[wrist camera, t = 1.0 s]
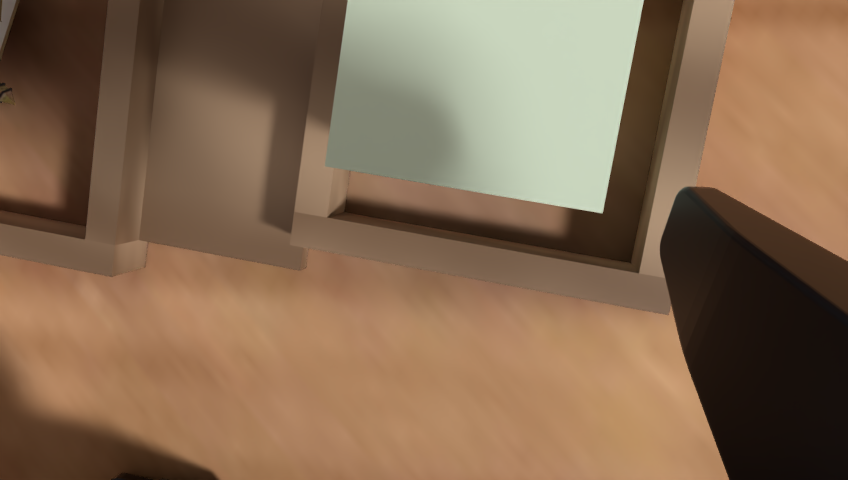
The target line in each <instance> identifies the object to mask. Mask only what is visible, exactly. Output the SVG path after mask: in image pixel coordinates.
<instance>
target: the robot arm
mask: <svg viewBox="0 0 848 480" xmlns="http://www.w3.org/2000/svg"><path fill="white" fill-rule="evenodd" d="M660 259H661V263H662V267H663V272H664V276H665V280H666V284H667V289H668V293H669V297H670V301H671V306H672V310H673V314H674V318H675V323H676V327H677V331H678V335H679V339H680V343H681V347H682V350H683V354H684V357H685V360H686V363H687V366H688V369H689V372H690V374H691V377H692V380H693V383H694V385H695V388H696V391H697V393H698V396H699V399H700V402H701V404H702V407H703V410H704V412H705V415H706V418H707V420H708V423H709V426H710V429H711V431H712V434H713V437H714V439H715V442H716V445H717V448H718V450H719V453H720V456H721V458H722V461H723V464H724V467H725V469H726V472H727V475H728V477H729V480H848V261H846V260H844V259H842V258H841V257H839V256H837V255H835V254H833V253H832V252H830V251H828V250H826V249H824V248H823V247H821V246H819V245H817V244H815V243H813V242H812V241H810V240H808V239H806V238H804V237H803V236H801V235H799V234H797V233H795V232H794V231H792V230H790V229H788V228H786V227H784V226H783V225H781V224H779V223H777V222H775V221H774V220H772V219H770V218H768V217H766V216H765V215H763V214H761V213H759V212H757V211H755V210H754V209H752V208H750V207H748V206H746V205H745V204H743V203H741V202H739V201H737V200H736V199H734V198H732V197H730V196H728V195H726V194H725V193H723V192H721V191H719V190H717V189H715V188H710V187H691V186H688V187H684V188H682V189H681V190H679V192H678V193H677V195H676V197H675V199H674V202H673V205H672V208H671V211H670V214H669V217H668V220H667V223H666V226H665V229H664V232H663V234H662V238H661V242H660ZM111 480H153V479H148V478H144V477H140V476H135V475H131V474H127V473H121V474H119V475H117V476H115V477H114V478H113V479H111ZM159 480H168V479H164V478H162V479H159Z"/></svg>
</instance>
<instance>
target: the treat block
mask: <svg viewBox="0 0 848 480" xmlns="http://www.w3.org/2000/svg"><path fill="white" fill-rule="evenodd" d="M643 2H644V0H348V2H347V10H346V17H345V24H344V31H343V38H342V45H341V53H340V60H339V67H338V74H337V81H336V88H335V96H334V103H333V110H332V117H331V124H330V132H329V139H328V146H327V153H326V160H325V166H326V167H332V168H338V169H343V170H349V171H355V172H361V173H367V174H373V175H379V176H385V177H391V178H397V179H402V180H408V181H414V182H420V183H426V184H432V185H438V186H444V187H450V188H456V189H462V190H467V191H473V192H479V193H485V194H491V195H497V196H503V197H509V198H515V199H521V200H526V201H532V202H538V203H544V204H550V205H556V206H562V207H568V208H574V209H580V210H586V211H591V212H597V213H603V209H604V204H605V199H606V193H607V188H608V183H609V178H610V173H611V167H612V162H613V157H614V152H615V147H616V142H617V136H618V131H619V126H620V121H621V116H622V110H623V105H624V100H625V95H626V90H627V85H628V79H629V74H630V69H631V64H632V59H633V54H634V48H635V43H636V38H637V33H638V28H639V22H640V17H641V12H642V7H643Z"/></svg>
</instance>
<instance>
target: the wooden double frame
mask: <svg viewBox="0 0 848 480" xmlns="http://www.w3.org/2000/svg"><path fill="white" fill-rule="evenodd" d="M734 1H735V0H683V4H682V9H681V14H680V19H679V24H678V29H677V34H676V39H675V44H674V49H673V54H672V59H671V64H670V69H669V74H668V79H667V84H666V89H665V94H664V99H663V104H662V109H661V114H660V119H659V124H658V129H657V134H656V139H655V144H654V149H653V154H652V159H651V164H650V169H649V174H648V179H647V184H646V189H645V194H644V199H643V204H642V209H641V214H640V219H639V224H638V229H637V234H636V239H635V244H634V249H633V254H632V259H631V263H628V262H623V261H617V260H612V259H606V258H600V257H595V256H589V255H583V254H578V253H572V252H566V251H561V250H555V249H549V248H544V247H538V246H532V245H527V244H521V243H516V242H510V241H504V240H499V239H493V238H487V237H482V236H476V235H470V234H465V233H459V232H453V231H448V230H442V229H436V228H431V227H425V226H420V225H414V224H408V223H403V222H397V221H391V220H386V219H380V218H374V217H369V216H363V215H357V214H352V213H346V212H345V205H346V198H347V191H348V184H349V177H350V171H349V170H343V169H338V168H332V167H326V166H325V160H326V153H327V146H328V139H329V132H330V124H331V117H332V110H333V103H334V96H335V88H336V81H337V74H338V67H339V60H340V53H341V45H342V38H343V31H344V24H345V17H346V10H347V2H348V0H108V6H107V17H106V27H105V38H104V48H103V58H102V69H101V79H100V90H99V100H98V111H97V121H96V131H95V142H94V152H93V163H92V173H91V183H90V194H89V204H88V215H87V225H86V226H82V225H77V224H72V223H66V222H61V221H56V220H50V219H45V218H40V217H35V216H29V215H24V214H19V213H13V212H8V211H3V210H0V255H3V256H8V257H13V258H18V259H24V260H29V261H34V262H39V263H44V264H49V265H54V266H59V267H64V268H69V269H74V270H79V271H84V272H89V273H94V274H100V275H105V276H110V277H113V276H117V275H120V274H123V273H127V272H130V271H134V270H137V269H141V268H144V267H145V264H146V255H147V246H148V242H152V243H157V244H162V245H168V246H173V247H178V248H184V249H189V250H194V251H199V252H205V253H210V254H215V255H221V256H226V257H231V258H236V259H242V260H247V261H252V262H257V263H263V264H268V265H273V266H279V267H284V268H289V269H294V270H302V269H304V268H306V264H307V256H308V249H314V250H319V251H325V252H330V253H335V254H341V255H346V256H352V257H357V258H363V259H368V260H373V261H379V262H384V263H390V264H395V265H400V266H406V267H411V268H417V269H422V270H427V271H433V272H438V273H444V274H449V275H454V276H460V277H465V278H471V279H476V280H481V281H487V282H492V283H498V284H503V285H508V286H514V287H519V288H525V289H530V290H536V291H541V292H546V293H552V294H557V295H563V296H568V297H573V298H579V299H584V300H590V301H595V302H600V303H606V304H611V305H617V306H622V307H627V308H633V309H638V310H644V311H649V312H654V313H660V314H665V315H669V311H670V306H671V301H670V297H669V293H668V289H667V284H666V280H665V276H664V272H663V267H662V263H661V259H660V242H661V238H662V234H663V232H664V229H665V226H666V223H667V220H668V217H669V214H670V211H671V208H672V205H673V202H674V199H675V197H676V195H677V193H678V192H679V190H681V189H682V188H684V187H688V186H691V187H696V182H697V177H698V173H699V168H700V163H701V158H702V154H703V149H704V144H705V139H706V135H707V130H708V125H709V120H710V115H711V111H712V106H713V101H714V96H715V92H716V87H717V82H718V77H719V72H720V68H721V63H722V58H723V53H724V49H725V44H726V39H727V34H728V30H729V25H730V20H731V15H732V10H733V6H734Z"/></svg>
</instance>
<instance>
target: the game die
mask: <svg viewBox="0 0 848 480" xmlns="http://www.w3.org/2000/svg"><path fill="white" fill-rule="evenodd" d="M19 1H20V0H0V61H1V58H2V54H3V51H4V48H5V45H6V42H7V39H8V35H9V32H10V29H11V26H12V23H13V20H14V16H15V13H16V10H17V7H18V4H19ZM2 102H4V103H9V104H13V105H15V102H14V99H13V95H12V88H7V87H6V86H5V83H0V103H2Z"/></svg>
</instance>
